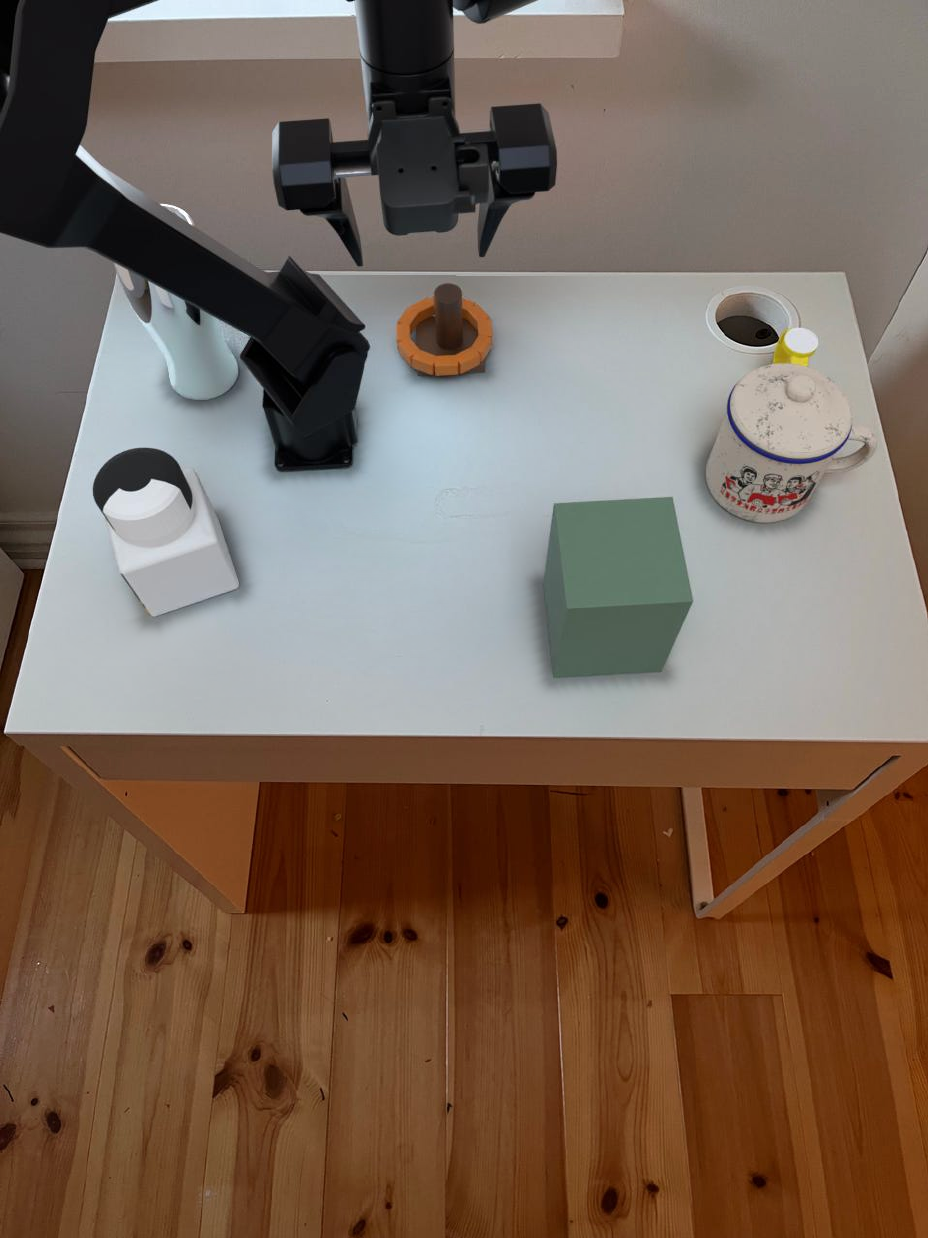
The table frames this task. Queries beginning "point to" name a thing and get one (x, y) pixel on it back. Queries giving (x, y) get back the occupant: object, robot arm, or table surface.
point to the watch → (795, 346)
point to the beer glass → (183, 335)
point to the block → (614, 586)
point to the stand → (447, 327)
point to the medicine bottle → (163, 530)
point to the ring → (448, 362)
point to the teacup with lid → (781, 441)
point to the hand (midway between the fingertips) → (420, 258)
